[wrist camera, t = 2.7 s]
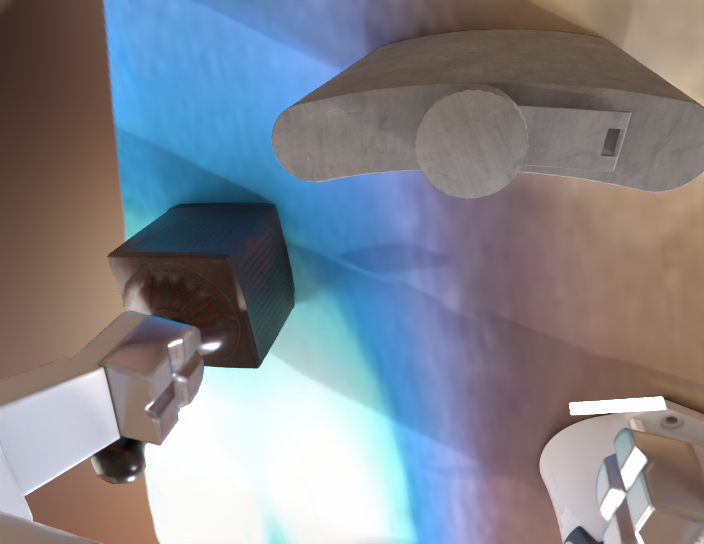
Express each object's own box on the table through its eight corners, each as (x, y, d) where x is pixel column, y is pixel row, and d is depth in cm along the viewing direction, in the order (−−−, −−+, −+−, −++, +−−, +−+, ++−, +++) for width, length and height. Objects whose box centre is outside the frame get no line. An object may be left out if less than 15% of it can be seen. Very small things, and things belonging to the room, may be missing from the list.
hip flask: (367, 94, 36) (252, 204, 19) (364, 31, 34) (234, 93, 17) (612, 90, 32) (732, 224, 16) (626, 19, 30) (779, 85, 14)
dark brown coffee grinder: (162, 203, 45) (-5, 321, 30) (278, 201, 42) (156, 330, 27) (207, 342, 53) (91, 492, 38) (308, 349, 50) (225, 514, 35)
